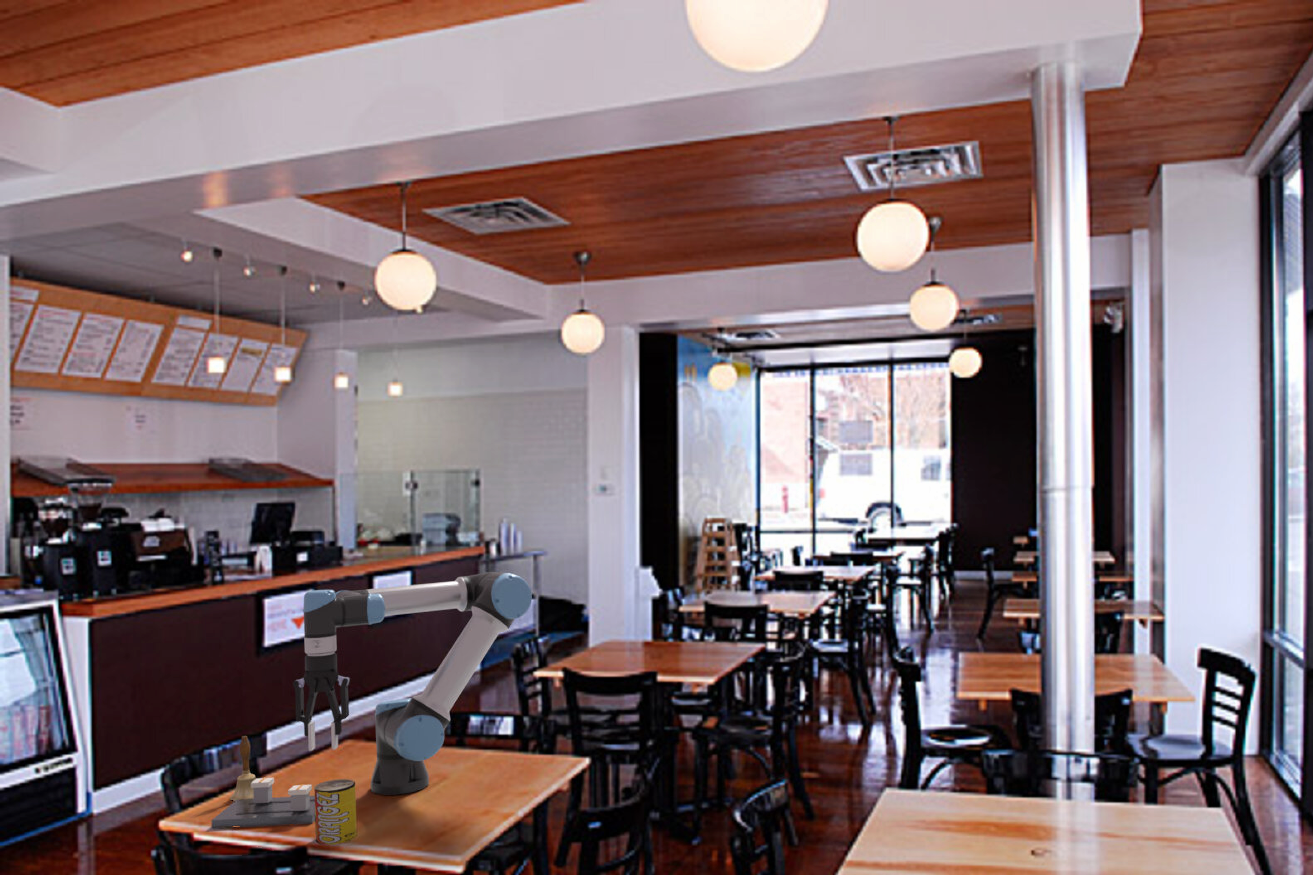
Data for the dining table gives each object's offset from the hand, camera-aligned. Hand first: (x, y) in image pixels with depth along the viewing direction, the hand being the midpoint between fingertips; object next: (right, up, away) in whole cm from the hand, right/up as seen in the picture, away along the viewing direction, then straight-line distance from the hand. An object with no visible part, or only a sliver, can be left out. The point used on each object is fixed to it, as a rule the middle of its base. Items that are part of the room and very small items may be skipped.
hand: (323, 748), depth 249 cm
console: (-13, -17, +3) cm, 22 cm away
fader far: (-18, -15, +7) cm, 24 cm away
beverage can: (+8, -16, -16) cm, 24 cm away
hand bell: (-27, -19, +20) cm, 38 cm away
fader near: (-5, -15, -1) cm, 16 cm away
